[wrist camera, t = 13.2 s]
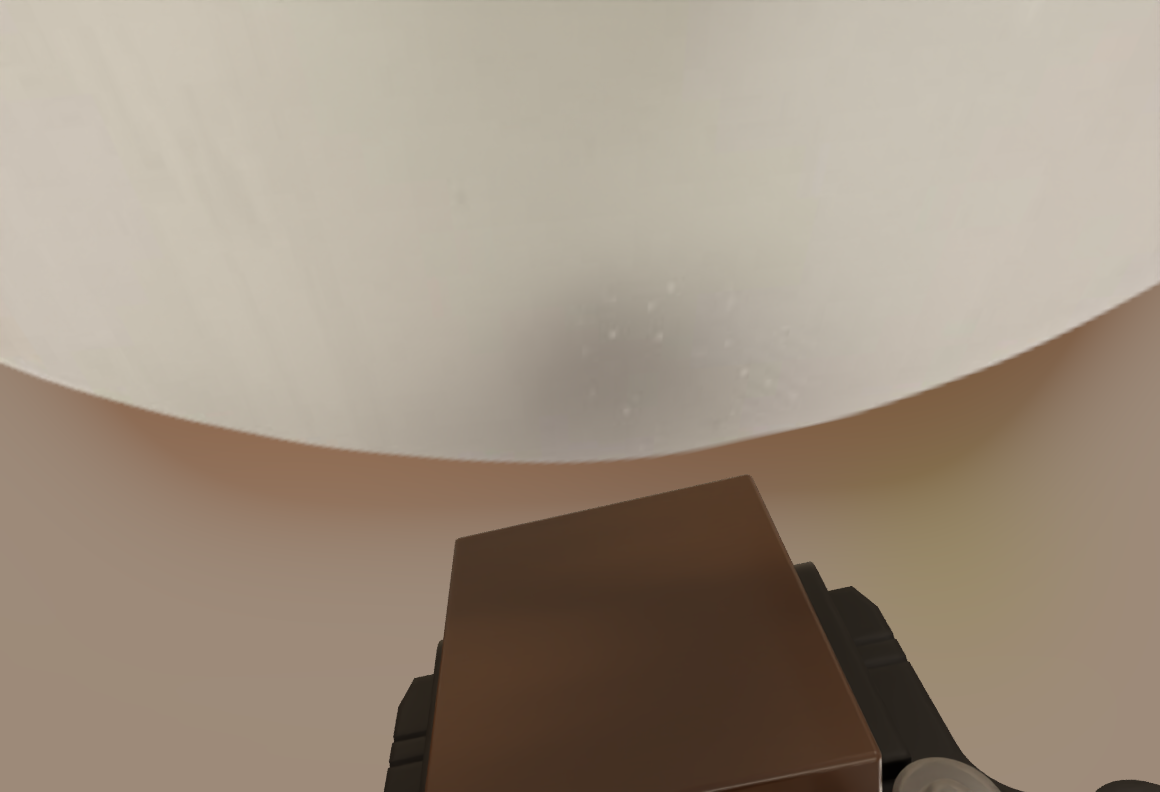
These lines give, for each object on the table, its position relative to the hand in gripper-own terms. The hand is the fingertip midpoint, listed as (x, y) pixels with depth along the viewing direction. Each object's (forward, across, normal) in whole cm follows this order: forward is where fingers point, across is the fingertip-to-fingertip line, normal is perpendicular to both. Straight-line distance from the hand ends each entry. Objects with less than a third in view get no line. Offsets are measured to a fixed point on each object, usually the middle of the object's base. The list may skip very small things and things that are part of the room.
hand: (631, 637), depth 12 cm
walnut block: (+1, 0, 0) cm, 1 cm away
